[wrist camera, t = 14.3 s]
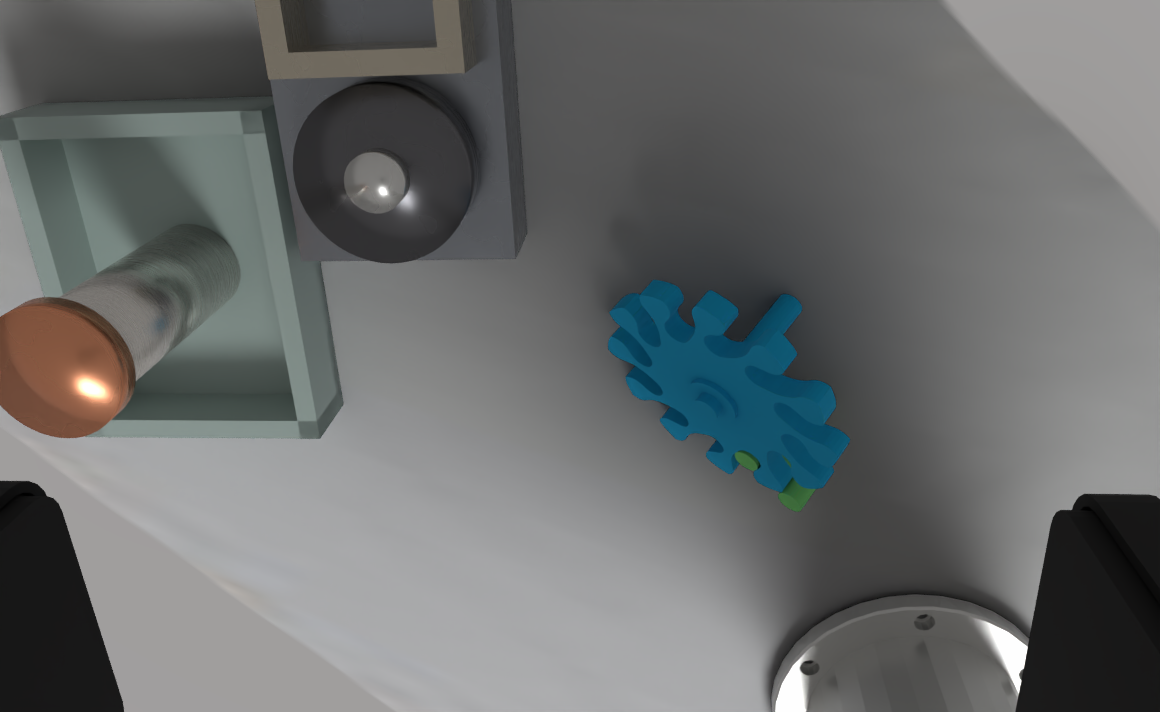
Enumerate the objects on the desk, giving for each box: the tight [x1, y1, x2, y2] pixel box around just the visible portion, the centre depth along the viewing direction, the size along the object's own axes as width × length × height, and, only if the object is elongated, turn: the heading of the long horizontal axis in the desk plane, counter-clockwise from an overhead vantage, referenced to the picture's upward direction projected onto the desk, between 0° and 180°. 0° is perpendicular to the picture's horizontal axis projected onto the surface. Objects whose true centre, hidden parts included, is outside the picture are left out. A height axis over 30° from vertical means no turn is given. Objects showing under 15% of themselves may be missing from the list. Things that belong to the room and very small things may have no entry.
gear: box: [608, 280, 850, 512], centre depth 36 cm, size 11×6×10 cm
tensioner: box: [255, 0, 527, 263], centre depth 32 cm, size 14×8×6 cm, turn 3°
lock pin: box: [0, 224, 241, 438], centre depth 34 cm, size 4×4×10 cm
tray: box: [0, 96, 343, 439], centre depth 38 cm, size 13×10×3 cm
